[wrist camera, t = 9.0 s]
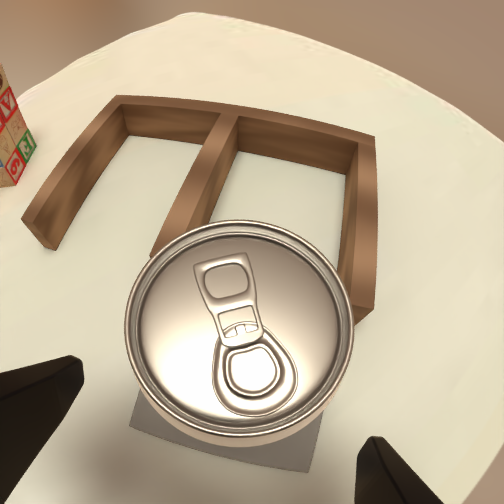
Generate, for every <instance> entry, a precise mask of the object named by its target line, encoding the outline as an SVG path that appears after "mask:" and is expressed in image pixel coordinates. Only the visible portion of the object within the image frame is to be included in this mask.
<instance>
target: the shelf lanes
mask: <svg viewBox="0 0 504 504" xmlns="http://www.w3.org/2000/svg"><path fill="white" fill-rule="evenodd" d="M129 135H134V136H143V137H152V138H160V139H168V140H176V141H183V142H190V143H196V144H203V146H202V148H201V150H200V152H199V154H198V156H197V158H196V160H195V161H194V163H193V165H192V167H191V169H190V171H189V173H188V175H187V177H186V179H185V181H184V183H183V185H182V187H181V189H180V191H179V193H178V195H177V197H176V199H175V201H174V203H173V205H172V207H171V209H170V211H169V213H168V216H167V218H166V220H165V222H164V224H163V226H162V228H161V231H160V233H159V235H158V237H157V239H156V242H155V244H154V246H153V248H152V251H151V253H150V255H149V256H150V258H151V257H152V256H153V255H154V254H155V253H156V252H157V251H158V250H159V249H161V248H162V247H163V246H164V245H165V244H167V243H168V242H169V241H171V240H172V239H174V238H175V237H177V236H179V235H180V234H182V233H184V232H186V231H188V230H191V229H193V228H196V227H198V226H201V225H204V224H208V222H209V220H210V217H211V215H212V212H213V210H214V207H215V205H216V202H217V200H218V197H219V195H220V192H221V190H222V187H223V185H224V182H225V180H226V177H227V175H228V173H229V170H230V168H231V165H232V163H233V161H234V158H235V156H236V154H237V151H243V152H249V153H254V154H259V155H264V156H269V157H274V158H278V159H283V160H287V161H292V162H296V163H301V164H305V165H309V166H313V167H317V168H321V169H325V170H329V171H333V172H337V173H341V174H345V175H346V180H345V195H344V208H343V220H342V231H341V241H340V251H339V260H338V268H337V272H338V274H339V276H340V277H341V279H342V281H343V283H344V285H345V287H346V290H347V292H348V295H349V298H350V301H351V305H352V310H353V316H354V326H355V325H356V324H357V323H359V322H360V321H361V320H362V319H363V318H364V317H366V316H367V315H368V314H369V313H370V312H371V311H372V310H373V309H374V300H375V286H376V268H377V235H378V200H377V168H376V150H375V136H372V135H368V134H365V133H361V132H358V131H354V130H351V129H347V128H343V127H340V126H336V125H332V124H328V123H324V122H320V121H316V120H311V119H307V118H302V117H298V116H293V115H288V114H284V113H278V112H273V111H268V110H262V109H257V108H251V107H245V106H238V105H231V104H224V103H217V102H209V101H200V100H191V99H180V98H168V97H153V96H132V95H116V96H115V97H114V98H113V99H112V100H111V101H110V102H109V103H108V104H107V105H106V106H105V107H104V108H103V110H102V111H101V112H100V113H99V114H98V115H97V116H96V117H95V118H94V120H93V121H92V122H91V123H90V124H89V125H88V126H87V128H86V129H85V130H84V131H83V132H82V134H81V135H80V136H79V137H78V138H77V140H76V141H75V142H74V143H73V145H72V146H71V147H70V148H69V150H68V151H67V152H66V153H65V155H64V156H63V157H62V159H61V160H60V161H59V163H58V164H57V165H56V167H55V168H54V169H53V171H52V172H51V174H50V175H49V176H48V178H47V179H46V181H45V182H44V184H43V185H42V186H41V188H40V189H39V191H38V192H37V194H36V195H35V197H34V199H33V200H32V202H31V203H30V205H29V206H28V208H27V209H26V211H25V213H24V214H23V216H22V218H21V220H22V221H23V223H24V224H25V225H26V226H27V227H28V229H29V230H30V231H31V232H32V233H33V235H34V236H35V237H36V238H37V239H38V241H39V242H40V243H41V244H42V245H43V246H44V247H46V248H49V249H52V250H55V251H56V249H57V247H58V245H59V244H60V242H61V240H62V238H63V236H64V234H65V232H66V231H67V229H68V227H69V225H70V224H71V222H72V220H73V218H74V217H75V215H76V213H77V212H78V210H79V208H80V207H81V205H82V203H83V202H84V200H85V198H86V197H87V195H88V194H89V192H90V190H91V189H92V187H93V186H94V184H95V183H96V181H97V180H98V178H99V177H100V175H101V174H102V172H103V171H104V169H105V168H106V166H107V165H108V163H109V162H110V160H111V159H112V158H113V156H114V155H115V153H116V152H117V151H118V149H119V148H120V146H121V145H122V144H123V142H124V141H125V140H126V138H127V137H128V136H129Z"/></svg>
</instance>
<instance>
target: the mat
mask: <svg viewBox="0 0 504 504" xmlns="http://www.w3.org/2000/svg"><path fill="white" fill-rule="evenodd" d="M322 414H323V411H322V412H321V413H320V414H319V415H318V416H317V417H316V418H315V419H314V420H313V421H311V422H310V423H309V424H308V425H306V426H305V427H304V428H302V429H301V430H299V431H297V432H296V433H294V434H292V435H290V436H288V437H286V438H283V439H281V440H278V441H275V442H272V443H268V444H264V445H259V446H252V447H227V446H220V445H215V444H211V443H207V442H204V441H201V440H198V439H196V438H194V437H191V436H189V435H187V434H185V433H184V432H182V431H180V430H179V429H177V428H175V427H174V426H173V425H171V424H170V423H169V422H167V421H166V420H165V419H164V418H163V417H162V416H161V415H160V414H159V413H158V412H157V411H156V410H155V409H154V408H153V406H152V405H151V404H150V403H149V401H148V400H147V398H146V397H145V395H144V394H143V392H142V390H141V388H140V391H139V394H138V397H137V401H136V404H135V407H134V410H133V414H132V417H131V421H130V424H129V426H130V427H133V428H135V429H138V430H140V431H143V432H145V433H148V434H151V435H153V436H156V437H159V438H162V439H165V440H167V441H170V442H173V443H176V444H179V445H183V446H186V447H189V448H192V449H196V450H199V451H203V452H206V453H210V454H213V455H217V456H221V457H225V458H229V459H233V460H238V461H242V462H247V463H251V464H256V465H261V466H267V467H272V468H278V469H284V470H291V471H298V472H306V473H308V472H309V468H310V465H311V461H312V457H313V453H314V449H315V445H316V441H317V436H318V432H319V428H320V423H321V419H322Z"/></svg>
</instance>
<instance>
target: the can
mask: <svg viewBox="0 0 504 504" xmlns="http://www.w3.org/2000/svg"><path fill="white" fill-rule="evenodd" d="M124 335H125V344H126V349H127V354H128V357H129V361H130V363H131V366H132V369H133V372H134V375H135V377H136V380H137V382H138V384H139V386H140V388H141V390H142V392H143V394H144V395H145V397H146V398H147V400H148V401H149V403H150V404H151V405H152V406H153V408H154V409H155V410H156V411H157V412H158V413H159V414H160V415H161V416H162V417H163V418H164V419H165V420H166V421H167V422H169V423H170V424H171V425H173V426H174V427H175V428H177V429H179V430H180V431H182V432H184V433H185V434H187V435H189V436H191V437H194V438H196V439H198V440H201V441H204V442H207V443H211V444H215V445H220V446H227V447H252V446H259V445H264V444H268V443H272V442H275V441H278V440H281V439H283V438H286V437H288V436H290V435H292V434H294V433H296V432H297V431H299V430H301V429H302V428H304V427H305V426H306V425H308V424H309V423H310V422H311V421H313V420H314V419H315V418H316V417H317V416H318V415H319V414H320V413H321V412H322V411H323V410H324V409H325V407H326V406H327V405H328V404H329V402H330V401H331V399H332V398H333V396H334V395H335V393H336V391H337V389H338V387H339V385H340V383H341V381H342V378H343V376H344V374H345V372H346V369H347V367H348V364H349V361H350V358H351V354H352V349H353V343H354V316H353V310H352V305H351V301H350V298H349V295H348V292H347V290H346V287H345V285H344V283H343V281H342V279H341V277H340V276H339V274H338V272H337V271H336V269H335V268H334V267H333V265H332V264H331V263H330V262H329V260H328V259H327V258H326V257H325V256H324V255H323V254H322V253H321V252H320V251H319V250H318V249H317V248H316V247H314V246H313V245H312V244H310V243H309V242H308V241H306V240H305V239H303V238H302V237H300V236H298V235H297V234H295V233H293V232H291V231H289V230H286V229H284V228H281V227H279V226H276V225H272V224H269V223H264V222H259V221H253V220H224V221H217V222H212V223H208V224H204V225H201V226H198V227H196V228H193V229H191V230H188V231H186V232H184V233H182V234H180V235H179V236H177V237H175V238H174V239H172V240H171V241H169V242H168V243H167V244H165V245H164V246H163V247H162V248H161V249H159V250H158V251H157V252H156V253H155V254H154V255H153V256H152V257H151V259H150V260H149V261H148V262H147V263H146V265H145V266H144V267H143V269H142V270H141V272H140V274H139V275H138V277H137V279H136V281H135V283H134V285H133V287H132V290H131V292H130V295H129V298H128V302H127V306H126V312H125V320H124Z"/></svg>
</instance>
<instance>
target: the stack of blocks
mask: <svg viewBox="0 0 504 504" xmlns="http://www.w3.org/2000/svg"><path fill="white" fill-rule="evenodd" d="M35 148H36V144H35V142H34V139H33V137H32V135H31V133H30V131H29V129H28V128H27V126H26V123H25V121H24V119H23V117H22V114H21V112H20V110H19V108H18V104H17V102H16V99H15V97H14V94H13V92H12V90H11V87H10V86H9V84H8V81H7V78H6V75H5V73H4V70H3V67H2V64H1V63H0V188H2V187H10V186H16V184H17V182H18V180H19V178H20V176H21V174H22V172H23V171H24V169H25V167H26V164H27V162H28V161H29V159H30V157H31V155H32V153H33V152H34V150H35Z"/></svg>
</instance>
